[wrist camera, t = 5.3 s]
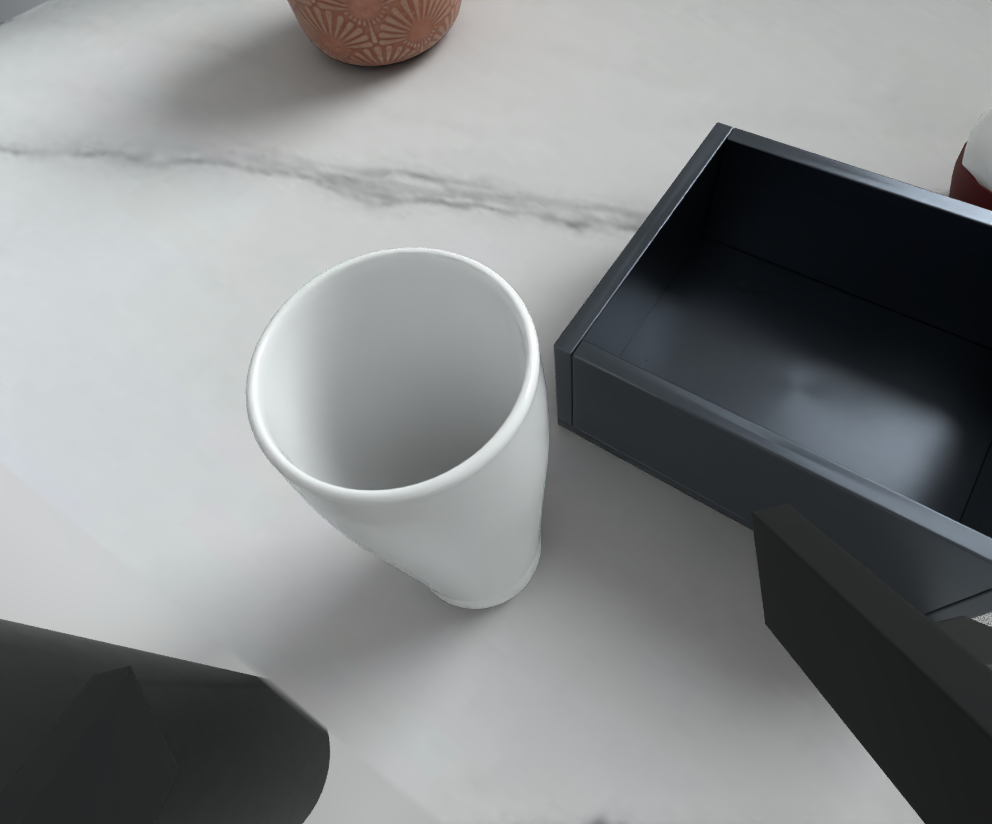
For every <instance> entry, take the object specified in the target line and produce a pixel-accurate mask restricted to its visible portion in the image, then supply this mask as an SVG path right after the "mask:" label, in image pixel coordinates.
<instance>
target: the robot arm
mask: <svg viewBox="0 0 992 824" xmlns="http://www.w3.org/2000/svg"><path fill="white" fill-rule="evenodd" d="M751 516H752V524H753V531H754V539H755V547H756V555H757V562H758V570H759V578H760V586H761V593H762V601H763V609H764V617H765V624H766V625H767V627H768V628H769V629H770V630H771V632H772V633H773V634H774V635H775V637H776V638H777V639H778V640H779V642H780V643H781V644H782V645H783V647H784V648H785V649H786V650H787V652H788V653H789V654H790V655H791V657H792V658H793V659H794V660H795V662H796V663H797V664H798V665H799V667H800V668H801V669H802V670H803V672H804V673H805V674H806V675H807V677H808V678H809V679H810V680H811V682H812V683H813V684H814V685H815V687H816V688H817V689H818V690H819V692H820V693H821V694H822V695H823V697H824V698H825V699H826V700H827V702H828V703H829V704H830V705H831V707H832V708H833V709H834V710H835V712H836V713H837V714H838V715H839V717H840V718H841V719H842V720H843V722H844V723H845V724H846V725H847V727H848V728H849V729H850V730H851V732H852V733H853V734H854V735H855V737H856V738H857V739H858V740H859V742H860V743H861V744H862V745H863V747H864V748H865V749H866V750H867V752H868V753H869V754H870V755H871V757H872V758H873V759H874V760H875V762H876V763H877V764H878V765H879V767H880V768H881V769H882V770H883V772H884V773H885V774H886V775H887V777H888V778H889V779H890V780H891V782H892V783H893V784H894V785H895V787H896V788H897V789H898V790H899V792H900V793H901V794H902V795H903V797H904V798H905V799H906V800H907V802H908V803H909V804H910V805H911V807H912V808H913V809H914V810H915V812H916V813H917V814H918V815H919V817H920V818H921V819H922V820H923V822H924V823H925V824H992V627H989V626H987V625H985V624H982V623H980V622H977V621H975V620H973V619H970V618H968V617H965V616H963V615H962V616H958V617H954V618H950V619H946V620H942V621H938V622H932V621H931V620H930V619H929V618H928V617H926V616H925V615H924V614H923V613H921V612H920V611H919V610H918V609H916V608H915V607H914V606H913V605H912V604H910V603H909V602H908V601H907V600H905V599H904V598H903V597H902V596H900V595H899V594H898V593H897V592H896V591H894V590H893V589H892V588H891V587H889V586H888V585H887V584H886V583H884V582H883V581H882V580H881V579H880V578H878V577H877V576H876V575H875V574H873V573H872V572H871V571H870V570H869V569H867V568H866V567H865V566H864V565H862V564H861V563H860V562H859V561H857V560H856V559H855V558H854V557H853V556H851V555H850V554H849V553H848V552H846V551H845V550H844V549H843V548H841V547H840V546H839V545H838V544H837V543H835V542H834V541H833V540H832V539H830V538H829V537H828V536H827V535H825V534H824V533H823V532H822V531H821V530H819V529H818V528H817V527H816V526H814V525H813V524H812V523H811V522H810V521H808V520H807V519H806V518H805V517H803V516H802V515H801V514H800V513H798V512H797V511H796V510H795V509H794V508H792V507H791V506H790V505H789V504H787V503H786V504H782V505H778V506H774V507H770V508H766V509H762V510H758V511H754V512H751ZM179 771H180V768H179V766H178V764H177V762H176V760H175V758H174V756H173V754H172V752H171V750H170V747H169V745H168V743H167V741H166V739H165V737H164V735H163V733H162V731H161V729H160V727H159V724H158V722H157V720H156V718H155V716H154V714H153V712H152V710H151V708H150V706H149V704H148V702H147V699H146V697H145V695H144V693H143V691H142V689H141V687H140V685H139V683H138V681H137V679H136V677H135V674H134V672H133V670H132V668H131V666H128V667H124V668H120V669H116V670H112V671H108V672H104V673H100V674H96V675H94V676H93V677H92V678H91V679H90V681H89V682H88V683H87V684H86V686H85V687H84V688H83V690H82V691H81V692H80V693H79V695H78V696H77V697H76V698H75V700H74V701H73V702H72V703H71V705H70V706H69V707H68V708H67V710H66V711H65V712H64V714H63V715H62V716H61V717H60V719H59V720H58V721H57V722H56V724H55V725H54V726H53V727H52V729H51V730H50V731H49V733H48V734H47V735H46V736H45V738H44V739H43V740H42V741H41V743H40V744H39V745H38V746H37V748H36V749H35V750H34V752H33V753H32V754H31V755H30V757H29V758H28V759H27V760H26V762H25V763H24V764H23V765H22V767H21V768H20V769H19V770H18V772H17V773H16V774H15V776H14V777H13V778H12V779H11V781H10V782H9V783H8V784H7V786H6V787H5V788H4V789H3V791H2V792H1V793H0V824H153V823H154V821H155V819H156V817H157V815H158V813H159V811H160V809H161V807H162V805H163V803H164V801H165V799H166V797H167V795H168V793H169V791H170V789H171V787H172V785H173V783H174V781H175V779H176V777H177V775H178V773H179Z"/></svg>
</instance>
